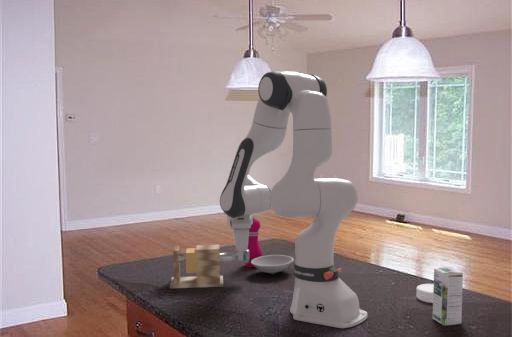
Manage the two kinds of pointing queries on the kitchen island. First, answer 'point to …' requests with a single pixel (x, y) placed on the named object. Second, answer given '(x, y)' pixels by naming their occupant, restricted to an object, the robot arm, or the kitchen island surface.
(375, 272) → the kitchen island surface
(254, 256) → the pepper mill
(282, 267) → the dish
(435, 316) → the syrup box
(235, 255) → the shaft
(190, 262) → the block
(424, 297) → the white round disc
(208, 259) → the bracket
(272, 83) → the robot arm
